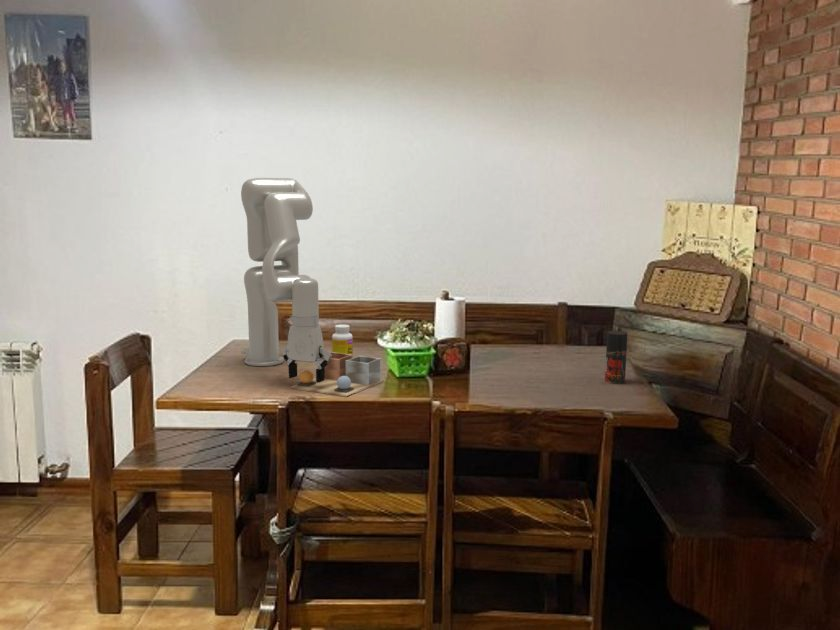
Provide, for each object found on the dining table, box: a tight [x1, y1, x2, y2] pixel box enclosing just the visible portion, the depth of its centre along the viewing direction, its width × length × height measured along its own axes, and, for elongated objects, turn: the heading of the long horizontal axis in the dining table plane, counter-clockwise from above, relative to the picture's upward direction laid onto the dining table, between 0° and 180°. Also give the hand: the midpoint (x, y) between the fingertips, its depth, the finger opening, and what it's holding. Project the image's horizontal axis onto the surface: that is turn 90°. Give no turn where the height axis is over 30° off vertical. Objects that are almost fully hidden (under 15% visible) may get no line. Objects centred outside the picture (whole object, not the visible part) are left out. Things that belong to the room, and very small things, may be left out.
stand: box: [290, 351, 384, 396], centre depth 238 cm, size 19×20×7 cm
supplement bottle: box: [331, 324, 354, 355], centre depth 263 cm, size 7×7×13 cm
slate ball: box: [337, 376, 351, 390], centre depth 231 cm, size 4×4×4 cm
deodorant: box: [604, 330, 628, 385], centre depth 245 cm, size 6×6×15 cm
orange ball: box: [299, 369, 314, 384], centre depth 237 cm, size 4×4×4 cm
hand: (306, 379), depth 237 cm, fingers open, 9 cm apart
